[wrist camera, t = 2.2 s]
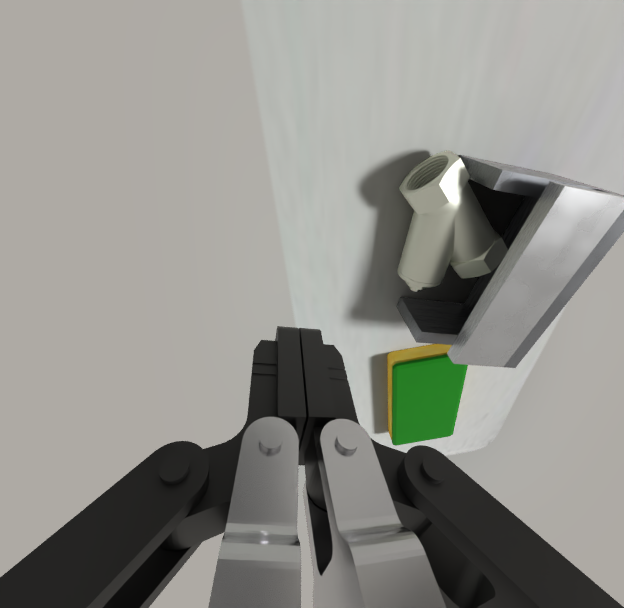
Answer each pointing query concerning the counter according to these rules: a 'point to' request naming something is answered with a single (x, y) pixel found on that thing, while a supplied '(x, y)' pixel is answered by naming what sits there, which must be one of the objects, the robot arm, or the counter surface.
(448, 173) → the pipe fitting
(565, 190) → the bracket
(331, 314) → the counter surface
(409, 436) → the dish sponge
